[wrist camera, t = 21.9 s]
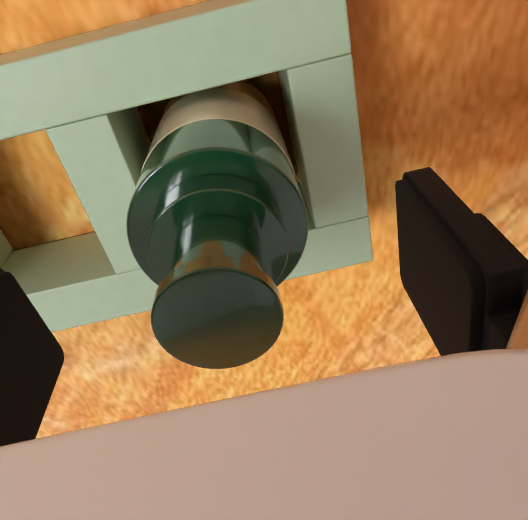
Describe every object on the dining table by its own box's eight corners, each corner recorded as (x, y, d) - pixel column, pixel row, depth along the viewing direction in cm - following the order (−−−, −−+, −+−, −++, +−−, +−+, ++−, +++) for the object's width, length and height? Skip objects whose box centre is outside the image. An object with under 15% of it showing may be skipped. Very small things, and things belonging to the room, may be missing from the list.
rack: (-143, 91, 19) (-234, 125, 15) (318, -28, 18) (344, -24, 14) (-4, 293, 25) (-44, 354, 21) (349, 212, 23) (373, 261, 20)
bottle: (219, 44, 19) (216, 161, 8) (301, 136, 21) (383, 320, 10) (135, 133, 20) (41, 325, 10) (220, 208, 23) (219, 430, 12)
